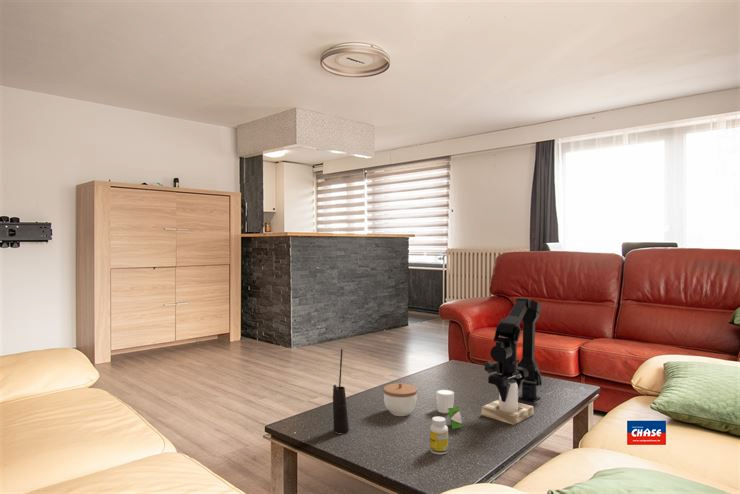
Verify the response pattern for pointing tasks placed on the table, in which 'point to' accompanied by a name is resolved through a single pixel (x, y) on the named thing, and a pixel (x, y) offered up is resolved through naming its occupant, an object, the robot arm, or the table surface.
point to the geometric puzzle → (455, 417)
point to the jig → (511, 418)
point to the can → (510, 398)
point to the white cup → (444, 400)
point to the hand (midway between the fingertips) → (508, 399)
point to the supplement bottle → (439, 436)
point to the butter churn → (340, 407)
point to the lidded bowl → (400, 398)
